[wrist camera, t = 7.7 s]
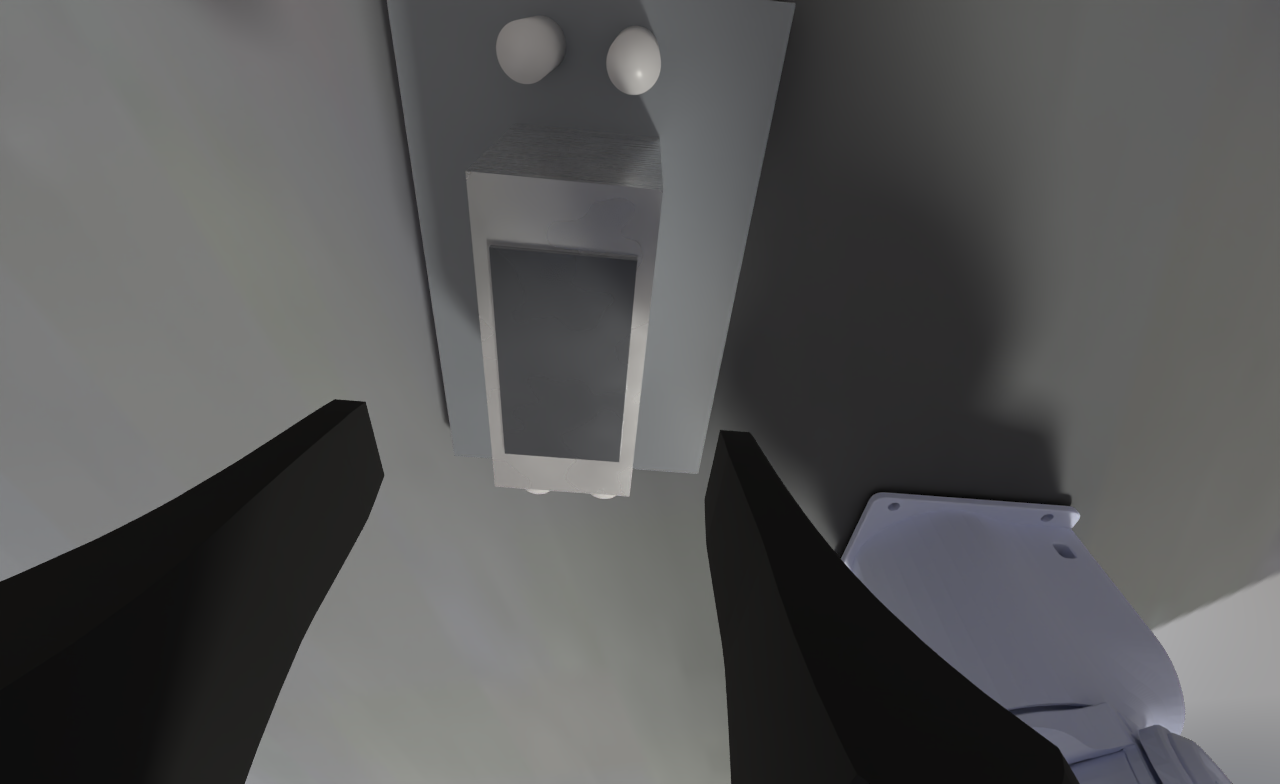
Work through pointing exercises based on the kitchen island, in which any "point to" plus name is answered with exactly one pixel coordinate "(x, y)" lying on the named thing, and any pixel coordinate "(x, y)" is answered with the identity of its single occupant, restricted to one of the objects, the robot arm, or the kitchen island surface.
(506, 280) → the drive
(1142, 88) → the kitchen island surface
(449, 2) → the pin tray
